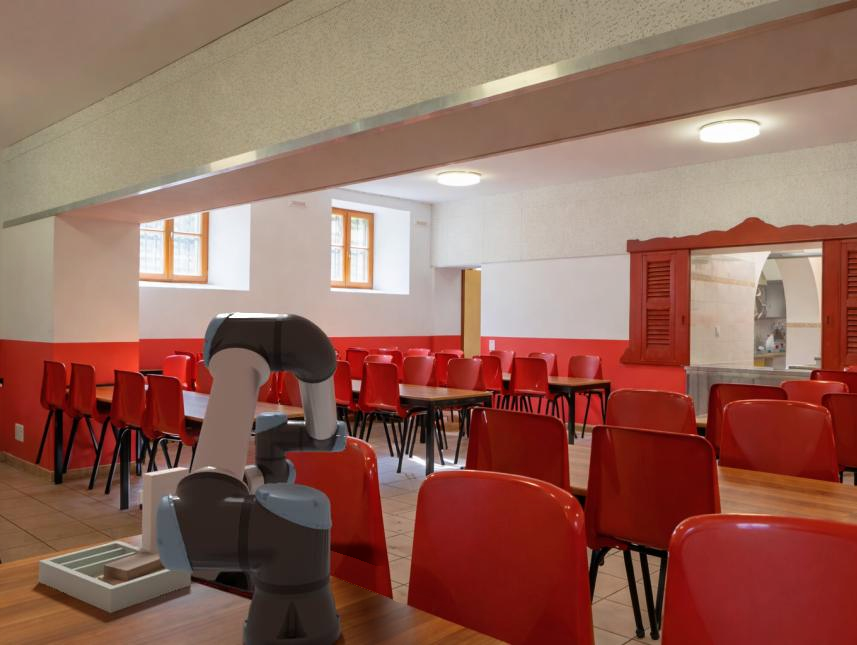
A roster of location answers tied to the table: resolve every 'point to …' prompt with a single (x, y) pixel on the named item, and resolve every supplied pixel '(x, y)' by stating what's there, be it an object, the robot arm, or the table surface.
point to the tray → (84, 567)
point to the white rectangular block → (156, 500)
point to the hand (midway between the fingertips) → (158, 502)
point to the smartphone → (228, 581)
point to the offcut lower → (115, 581)
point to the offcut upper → (133, 566)
